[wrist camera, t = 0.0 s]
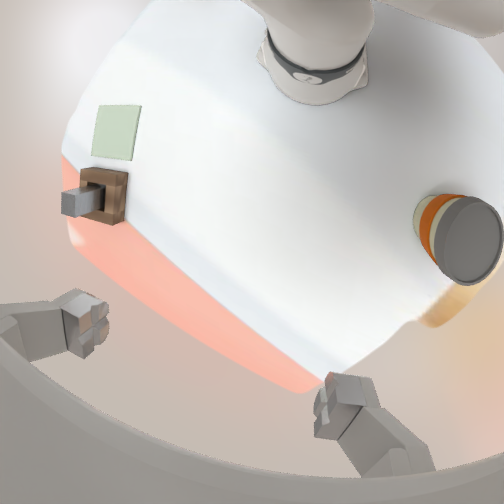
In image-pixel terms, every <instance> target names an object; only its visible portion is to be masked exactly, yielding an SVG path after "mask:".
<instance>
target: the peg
mask: <svg viewBox="0 0 504 504" xmlns="http://www.w3.org/2000/svg"><path fill="white" fill-rule="evenodd" d="M105 194H106V185H103V184H98V183H97V184H93V185H88V186H84V187H80V188H76V189H72V190H68V191H64V192H62V201H61V202H62V203H61V206H62V207H61V213H62V214H65V215H68V216H71V217H74V218H76V217H78V216H81V215H84V214H87V213H89V212H92V211H95V210H98V209H101V208H104V207H105Z"/></svg>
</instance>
